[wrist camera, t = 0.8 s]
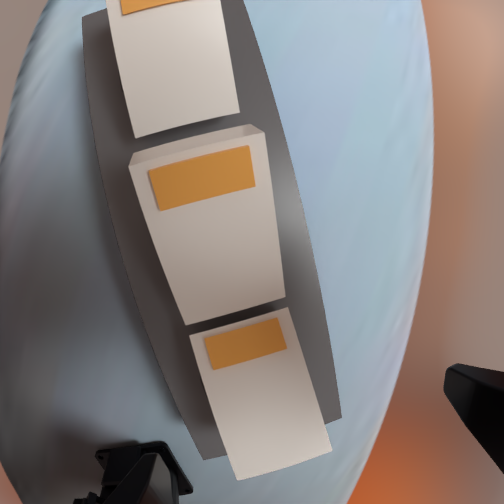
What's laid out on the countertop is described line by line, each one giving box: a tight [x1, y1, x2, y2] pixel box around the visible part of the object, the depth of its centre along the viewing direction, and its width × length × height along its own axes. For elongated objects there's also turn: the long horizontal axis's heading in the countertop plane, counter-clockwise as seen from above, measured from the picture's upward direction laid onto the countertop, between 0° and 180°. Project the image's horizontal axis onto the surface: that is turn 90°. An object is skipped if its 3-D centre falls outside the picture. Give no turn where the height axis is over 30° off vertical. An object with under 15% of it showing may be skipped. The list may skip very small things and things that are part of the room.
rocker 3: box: [189, 307, 333, 481], centre depth 13 cm, size 7×4×2 cm, turn 14°
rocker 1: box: [106, 0, 240, 138], centre depth 11 cm, size 7×4×2 cm, turn 14°
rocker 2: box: [128, 124, 285, 325], centre depth 12 cm, size 7×4×2 cm, turn 14°
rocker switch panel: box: [82, 0, 342, 460], centre depth 17 cm, size 30×9×5 cm, turn 14°
